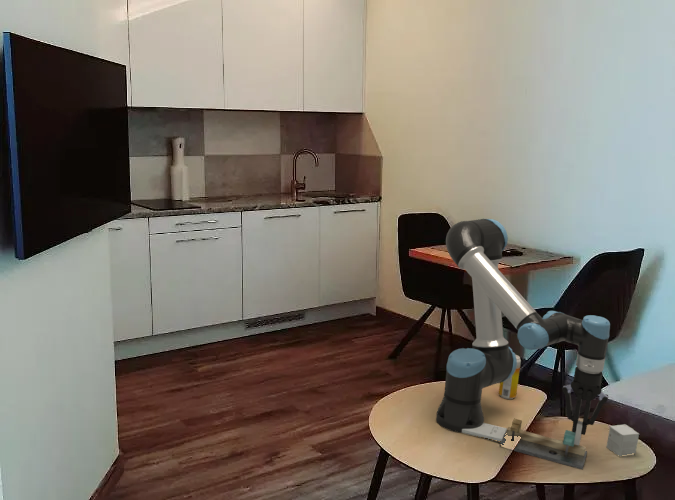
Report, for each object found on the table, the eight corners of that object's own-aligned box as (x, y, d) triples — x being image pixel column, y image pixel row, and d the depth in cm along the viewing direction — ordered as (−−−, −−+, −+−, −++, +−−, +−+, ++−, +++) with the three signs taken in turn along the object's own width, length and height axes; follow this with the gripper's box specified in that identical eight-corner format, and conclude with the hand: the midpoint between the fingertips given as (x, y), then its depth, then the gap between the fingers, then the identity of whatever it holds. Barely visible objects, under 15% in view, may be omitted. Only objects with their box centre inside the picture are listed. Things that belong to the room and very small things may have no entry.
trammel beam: (503, 439, 210) (505, 424, 209) (508, 432, 215) (509, 417, 214) (582, 461, 201) (585, 445, 200) (585, 452, 206) (587, 437, 205)
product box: (605, 447, 212) (609, 425, 210) (621, 445, 214) (625, 423, 212) (619, 457, 206) (623, 435, 205) (635, 455, 208) (639, 433, 207)
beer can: (516, 394, 246) (522, 355, 242) (514, 401, 240) (520, 361, 237) (499, 391, 248) (504, 352, 244) (497, 397, 242) (502, 357, 239)
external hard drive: (467, 423, 222) (506, 432, 217) (461, 433, 214) (501, 443, 210) (468, 418, 221) (507, 427, 216) (461, 428, 214) (502, 438, 209)
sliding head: (560, 454, 203) (563, 438, 202) (563, 445, 208) (565, 429, 207) (571, 456, 202) (573, 440, 201) (573, 448, 207) (576, 432, 206)
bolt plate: (499, 446, 208) (499, 443, 208) (506, 433, 217) (507, 430, 216) (582, 469, 198) (583, 466, 198) (586, 454, 207) (587, 451, 206)
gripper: (564, 368, 199) (552, 442, 204) (611, 378, 194) (598, 454, 199) (567, 359, 206) (556, 431, 211) (614, 369, 200) (601, 443, 206)
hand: (577, 442), depth 205 cm, fingers closed
